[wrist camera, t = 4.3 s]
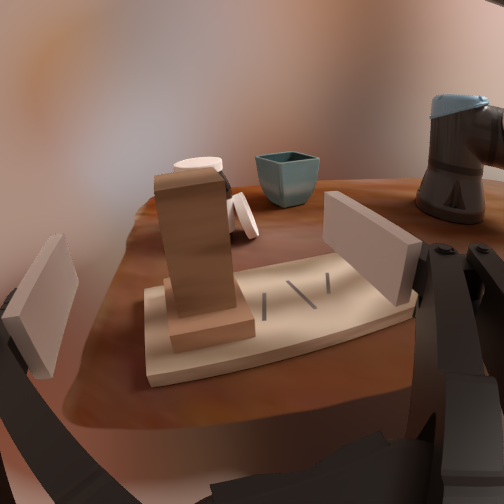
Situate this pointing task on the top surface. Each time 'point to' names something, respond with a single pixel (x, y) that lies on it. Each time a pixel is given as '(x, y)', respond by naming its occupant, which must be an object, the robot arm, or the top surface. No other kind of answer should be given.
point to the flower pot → (287, 177)
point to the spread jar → (238, 199)
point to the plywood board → (276, 319)
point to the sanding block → (199, 262)
